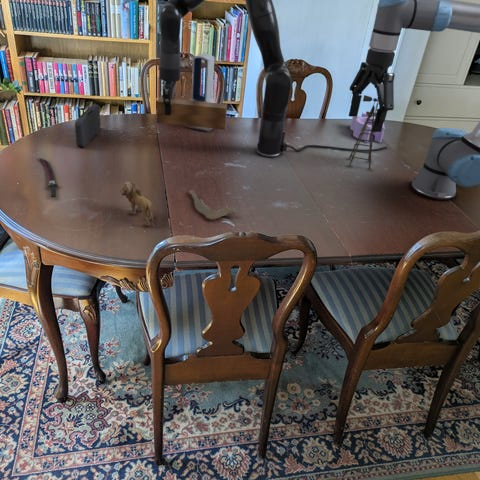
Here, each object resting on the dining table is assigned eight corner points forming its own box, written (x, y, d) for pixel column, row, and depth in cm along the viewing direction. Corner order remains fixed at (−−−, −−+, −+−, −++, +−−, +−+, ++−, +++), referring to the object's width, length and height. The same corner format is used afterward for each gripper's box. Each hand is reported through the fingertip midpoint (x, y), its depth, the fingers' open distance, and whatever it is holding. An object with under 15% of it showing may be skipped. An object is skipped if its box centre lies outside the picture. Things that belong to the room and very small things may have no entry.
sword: (61, 197, 141) (61, 193, 140) (50, 198, 139) (50, 194, 139) (49, 160, 164) (48, 156, 163) (39, 160, 163) (39, 157, 162)
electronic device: (216, 128, 205) (221, 56, 188) (210, 133, 198) (214, 59, 182) (190, 122, 207) (193, 51, 191) (183, 127, 201) (185, 54, 185)
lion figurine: (118, 210, 138) (116, 182, 133) (132, 204, 141) (131, 177, 137) (151, 229, 130) (150, 201, 126) (165, 223, 134) (165, 195, 129)
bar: (156, 122, 174) (156, 101, 170) (159, 118, 179) (159, 97, 175) (224, 129, 175) (226, 108, 171) (225, 124, 180) (227, 104, 175)
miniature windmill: (370, 170, 181) (390, 92, 164) (348, 166, 182) (366, 88, 166) (369, 161, 188) (389, 86, 172) (348, 157, 189) (366, 82, 173)
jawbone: (218, 227, 136) (218, 221, 134) (170, 202, 146) (169, 197, 145) (238, 214, 141) (238, 209, 140) (190, 191, 152) (190, 186, 151)
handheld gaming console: (94, 127, 192) (92, 103, 187) (101, 127, 192) (99, 103, 187) (76, 147, 173) (73, 121, 167) (83, 148, 173) (80, 122, 167)
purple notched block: (343, 126, 223) (346, 112, 219) (367, 127, 225) (371, 113, 221) (360, 142, 206) (364, 127, 202) (386, 142, 209) (390, 127, 205)
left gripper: (177, 71, 160) (176, 119, 169) (183, 62, 172) (181, 107, 181) (155, 69, 160) (155, 117, 169) (162, 60, 172) (162, 105, 181)
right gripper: (420, 60, 122) (398, 138, 133) (369, 41, 141) (353, 110, 153) (396, 60, 119) (376, 139, 131) (348, 40, 139) (333, 110, 150)
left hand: (169, 112), depth 175 cm, fingers closed on bar, 5 cm apart
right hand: (364, 123), depth 142 cm, fingers open, 13 cm apart
